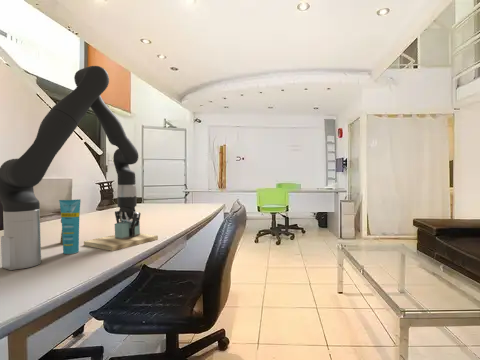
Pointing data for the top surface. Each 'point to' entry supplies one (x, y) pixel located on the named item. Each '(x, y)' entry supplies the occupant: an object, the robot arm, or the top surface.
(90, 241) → the board
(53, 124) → the robot arm
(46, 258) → the top surface
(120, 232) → the block
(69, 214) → the tube
